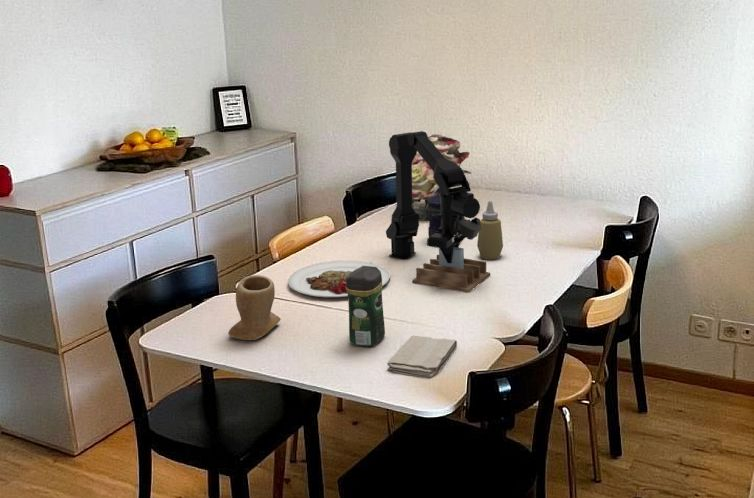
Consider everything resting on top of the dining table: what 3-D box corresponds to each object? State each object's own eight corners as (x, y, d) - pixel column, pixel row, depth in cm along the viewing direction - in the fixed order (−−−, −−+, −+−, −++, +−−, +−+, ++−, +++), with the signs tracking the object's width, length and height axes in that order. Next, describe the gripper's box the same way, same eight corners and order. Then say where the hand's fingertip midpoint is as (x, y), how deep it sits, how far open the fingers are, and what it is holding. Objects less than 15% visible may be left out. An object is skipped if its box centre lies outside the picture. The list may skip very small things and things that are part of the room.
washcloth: (385, 373, 192) (384, 361, 191) (411, 342, 208) (411, 330, 207) (434, 380, 188) (434, 368, 187) (457, 348, 204) (457, 336, 203)
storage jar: (443, 249, 274) (442, 205, 269) (422, 243, 281) (421, 199, 276) (464, 242, 280) (464, 198, 275) (443, 236, 287) (442, 193, 282)
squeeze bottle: (502, 261, 260) (502, 205, 254) (476, 260, 262) (475, 205, 256) (503, 253, 267) (504, 198, 262) (478, 252, 269) (478, 198, 263)
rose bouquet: (419, 201, 331) (417, 125, 322) (484, 210, 315) (484, 131, 305) (381, 217, 312) (377, 137, 302) (449, 228, 295) (447, 144, 286)
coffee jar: (360, 330, 215) (356, 261, 209) (388, 334, 212) (386, 264, 206) (344, 345, 206) (340, 274, 201) (374, 349, 204) (371, 278, 198)
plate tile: (439, 273, 247) (438, 247, 245) (442, 270, 249) (442, 245, 246) (460, 276, 244) (460, 250, 241) (463, 274, 246) (463, 248, 243)
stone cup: (263, 346, 208) (258, 290, 203) (222, 340, 213) (216, 285, 208) (293, 323, 221) (288, 269, 216) (254, 318, 226) (249, 265, 221)
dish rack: (412, 283, 246) (411, 268, 244) (436, 267, 258) (435, 253, 256) (468, 292, 236) (468, 277, 235) (490, 275, 248) (490, 261, 247)
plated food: (342, 259, 269) (342, 249, 268) (411, 280, 248) (410, 269, 247) (267, 285, 249) (266, 275, 248) (335, 310, 229) (334, 299, 228)
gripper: (461, 222, 229) (462, 276, 234) (489, 205, 244) (489, 256, 249) (425, 217, 234) (426, 270, 239) (455, 201, 249) (455, 251, 254)
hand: (451, 261), depth 245 cm, fingers closed on plate tile, 2 cm apart
